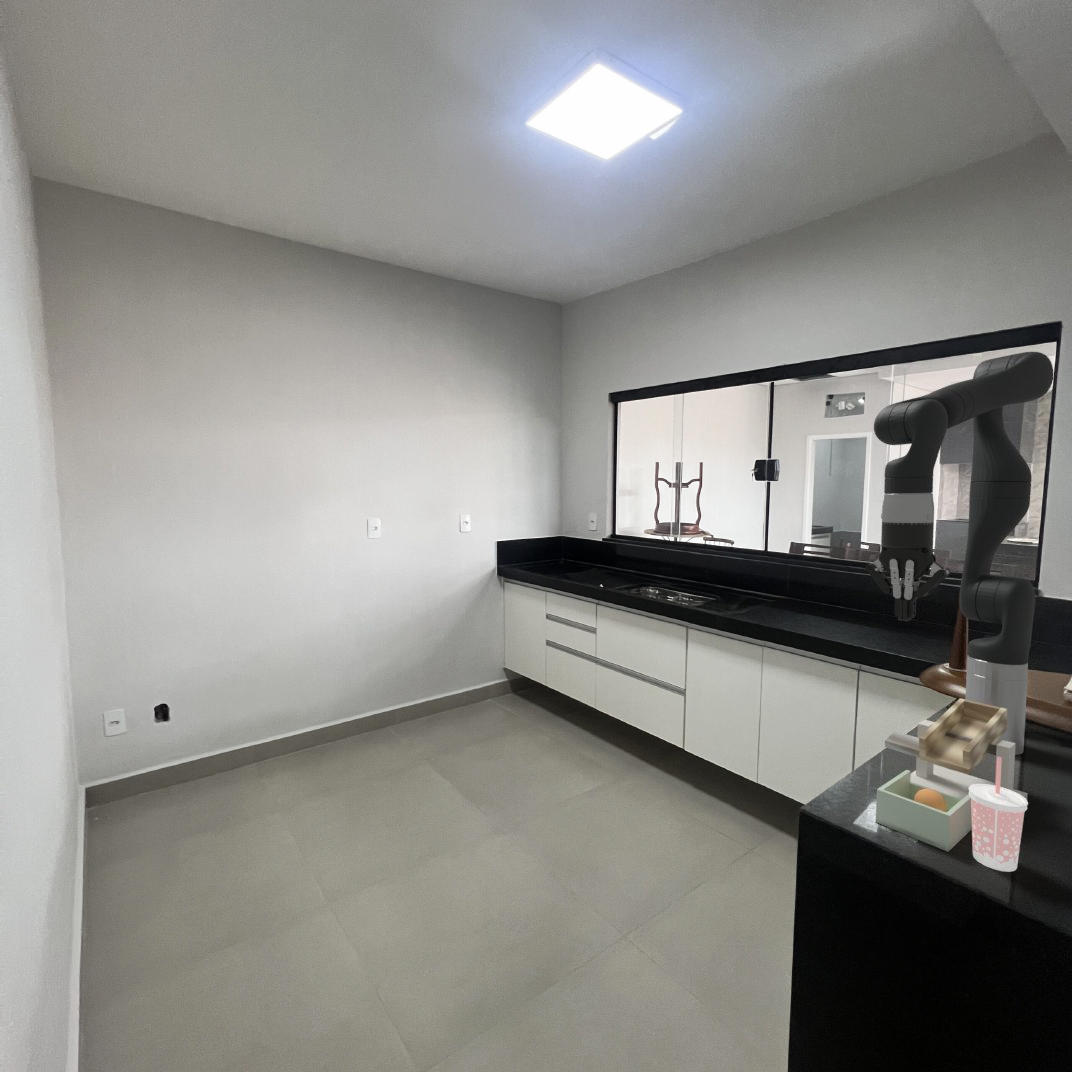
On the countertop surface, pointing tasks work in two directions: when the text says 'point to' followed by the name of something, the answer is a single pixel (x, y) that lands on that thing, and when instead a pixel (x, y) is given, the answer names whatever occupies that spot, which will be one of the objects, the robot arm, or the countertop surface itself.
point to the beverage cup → (996, 824)
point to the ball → (931, 799)
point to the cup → (922, 813)
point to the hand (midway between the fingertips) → (904, 619)
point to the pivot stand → (958, 781)
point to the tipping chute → (956, 736)
